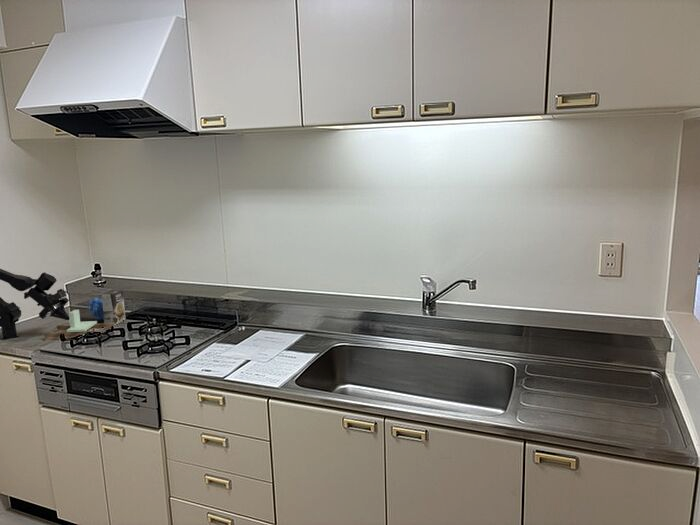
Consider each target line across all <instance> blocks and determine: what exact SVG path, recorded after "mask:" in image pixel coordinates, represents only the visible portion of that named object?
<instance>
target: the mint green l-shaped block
mask: <svg viewBox="0 0 700 525" xmlns="http://www.w3.org/2000/svg"><path fill="white" fill-rule="evenodd" d="M68 316H69V325H70V327H71V328H69V329H68V330H67V332H85V331H86V330H88V329H89V328H91V327H92V326H94V325H95V324H98V320H89V321H87V320H85V321H81V316H80V309H73V310H72V311H70V312H68Z"/></svg>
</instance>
